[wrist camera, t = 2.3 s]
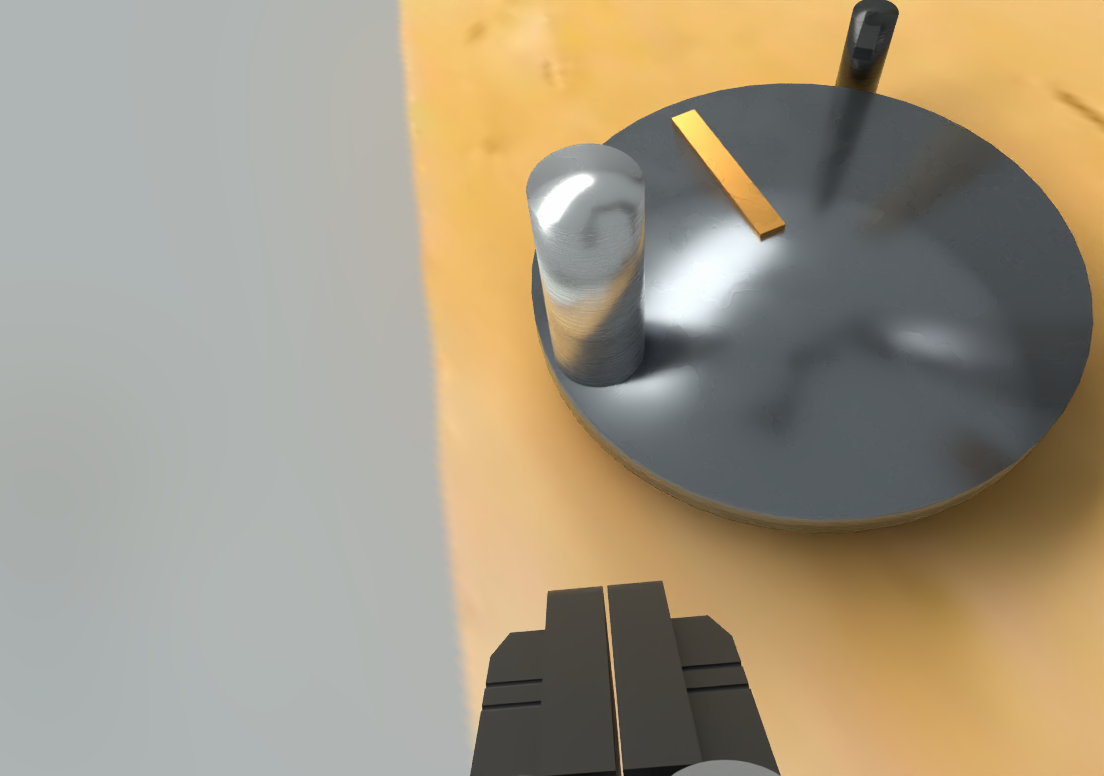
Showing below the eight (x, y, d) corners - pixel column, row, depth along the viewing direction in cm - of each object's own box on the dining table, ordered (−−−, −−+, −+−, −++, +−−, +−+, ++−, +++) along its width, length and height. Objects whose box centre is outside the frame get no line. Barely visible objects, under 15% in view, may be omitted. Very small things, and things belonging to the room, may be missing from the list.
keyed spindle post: (863, 99, 44) (892, -5, 39) (981, 420, 34) (1041, 337, 29) (621, 127, 45) (618, 29, 40) (668, 450, 35) (672, 374, 30)
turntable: (974, 84, 41) (1067, -143, 32) (1173, 503, 29) (1405, 335, 20) (525, 136, 42) (492, -70, 33) (550, 558, 31) (510, 421, 22)
